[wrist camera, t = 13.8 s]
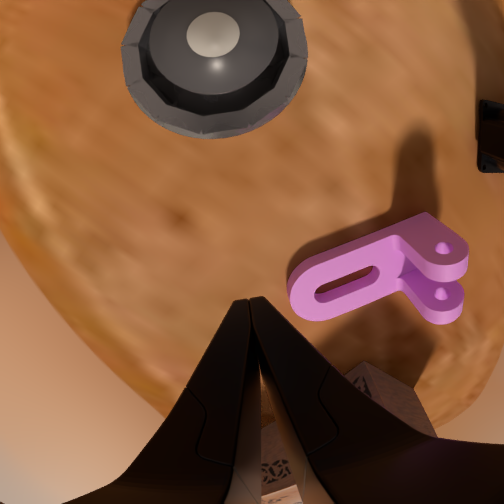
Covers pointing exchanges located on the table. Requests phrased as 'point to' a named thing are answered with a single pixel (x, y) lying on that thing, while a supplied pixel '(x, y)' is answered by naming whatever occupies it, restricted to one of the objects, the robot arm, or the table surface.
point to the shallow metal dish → (214, 107)
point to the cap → (213, 43)
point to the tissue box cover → (372, 384)
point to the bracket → (387, 272)
